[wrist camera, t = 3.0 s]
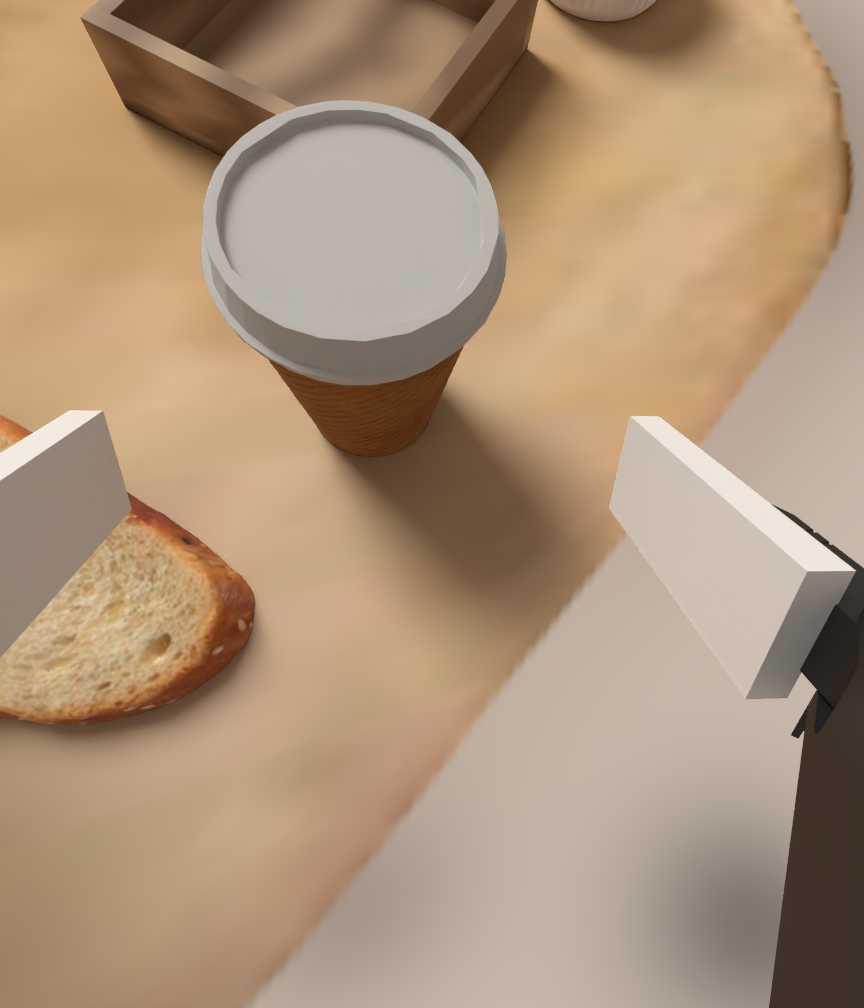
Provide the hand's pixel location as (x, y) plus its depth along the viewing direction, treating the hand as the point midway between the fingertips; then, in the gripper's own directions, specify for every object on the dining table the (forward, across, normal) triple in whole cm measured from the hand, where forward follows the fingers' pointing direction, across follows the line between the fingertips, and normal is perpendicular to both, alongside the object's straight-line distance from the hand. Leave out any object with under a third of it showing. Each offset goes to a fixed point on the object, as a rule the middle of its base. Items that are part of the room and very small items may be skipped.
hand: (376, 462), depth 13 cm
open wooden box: (+29, -3, +13) cm, 32 cm away
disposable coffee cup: (+14, -1, -3) cm, 14 cm away
